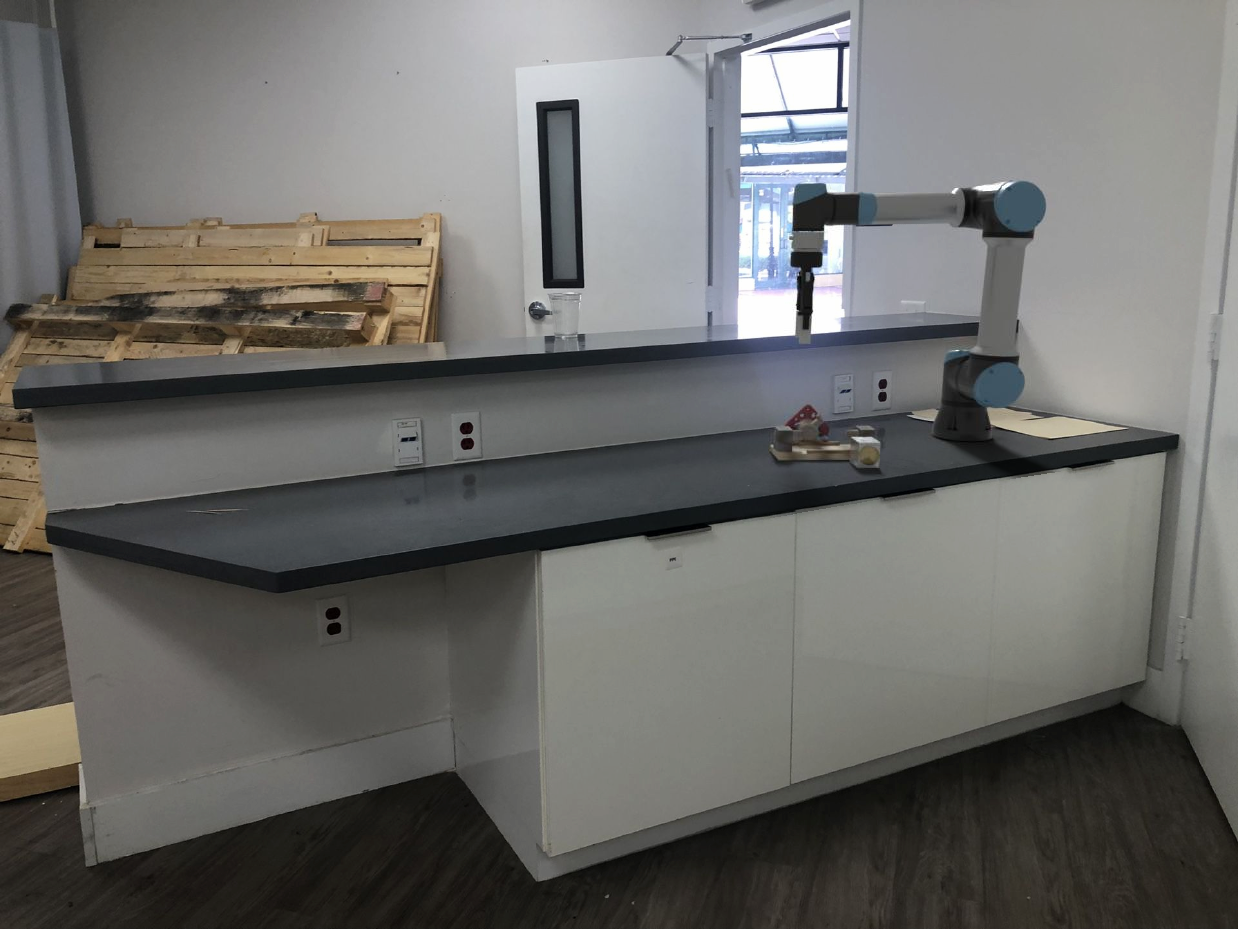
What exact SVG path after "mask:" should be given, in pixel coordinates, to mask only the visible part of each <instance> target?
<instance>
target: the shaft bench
mask: <svg viewBox="0 0 1238 929" xmlns="http://www.w3.org/2000/svg"><path fill="white" fill-rule="evenodd" d="M844 436H845V437H844V438H845V440H846V441H847V440H848V441H851V437H873V438H874V439H876V429H875V428H873V427H872V426H870V425H854V429H845V433H844ZM802 439H803V431H802V430H792V429H791V428H790V427H789V426H785V425H782V426H781V425H779V426H778V425H774V426H773V443H772V444H770V446H769V452H770V453H771V454H772V455H773V456H774V457H775V458H776V459H777V460H778V461H823V460H824V461H833V460H834V461H835V460H836V461H837V460H838V461H841V460H842V461H845V460H847V461H848V460H849V461H850V444H851V443H849V444H841V442H840V441H828V442H798V443H797V445H793V440H802Z"/></svg>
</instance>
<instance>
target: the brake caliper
mask: <svg viewBox="0 0 1238 929" xmlns="http://www.w3.org/2000/svg"><path fill="white" fill-rule="evenodd" d="M801 415H803V416H801ZM812 415H814V416H812ZM821 415H822V414H821V412H819V413H818V411H817V410H816V409H815V408H814V407H813V406H812V405H811V404H809V403H808V404H805V405H804V406H802V407H801V409H800V410H799V411H798V412H797V413H796V414H794V415H793V416H792V417H791V418H790V419H789V420H787V422H786V423H785V424H784V426H789V427H790V428H791V429H792V430H802V431H803V439H802V440H793V445H797V443H798V442H830V441H829V440H830V439H829V434H830V426H829V424H828V423H827V421H826V420H825V419H824V418H823V416H821ZM800 422H801V423H800ZM797 425H798V426H797Z"/></svg>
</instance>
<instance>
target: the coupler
mask: <svg viewBox="0 0 1238 929" xmlns="http://www.w3.org/2000/svg"><path fill="white" fill-rule="evenodd" d="M849 444H850V460H849V463H850V464H852V465H853V466H854V467H856V468H857V469H875V468H876V469H879V467H880V458H881V457H880V456H881V445H882V444H881V442H880V440H878V439H876V438H875V439H874V438H873V437H851V440H850V443H849Z"/></svg>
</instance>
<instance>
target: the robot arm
mask: <svg viewBox="0 0 1238 929" xmlns="http://www.w3.org/2000/svg"><path fill="white" fill-rule="evenodd" d="M793 191H794V192H793V197H792V198H793V199H792V228H791V235H789V236H788V240H789V241H791V247H790V248H791V249H792V250H793V251H791V253H790V259H789V261H790V263H789V265H790V267H791V268H797V269H798V268H800V269H798V272H797V273H798V274H797V275H796V290H797V292H796V293H797V294H796V303H795V306H796V307H795V308H796V313H795V329H794V330H795V332H794V333H795V334H794V337H795V338H798V344H801V345H802V344H803V345H807V344H808V345H809V344H810V345H811V338H812V318H813V313H814V308H813V307H814V304H813V303H814V289H815V288H814V287H815V286H814V285H815V278H816V277H815V273H814V272H813V271H812V269H818V268H819V269H820V268H822V267H823V263H824V262H823V260H824V258H823V257H824V254H823V252H822V250H823V249H824V248H825V247H824V244H825V226H827V227H829V226H830V227H831V226H832V227H833V226H867V225H868V226H869V225H872V226H873V225H874V226H875V225H923V224H924V225H932V224H933V225H934V224H935V225H940V224H949V225H950V226H951V228H963V229H964V228H966V229H973V230H981V231H982V233H981V234H982V235H981V239H982V241H983V242H984V243H985V244H986V246H987V248H986V257H985V258H986V259H985V268H984V275H983V287H982V293H981V294H982V296H981V303H980V304H981V306H980V312H979V314H980V315H979V324H978V331H977V332H978V333H977V342H976V345H975V346H974V347H972V348H971V349H956V350H955V349H954V350H953V349H952V350H948V351H947V352H945V356H944V361H943V373H942V374H943V375H942V383H941V384H942V385H941V386H942V387H941V397H940V398H941V399H940V407H939V409H938V411H937V413H936V417H935V418H934V421H933V423H932V426H931V435H932V436H934V437H935V438H936V437H937V438H940V439H944V440H948V441H949V440H950V441H957V442H982V441H983V442H984V441H988V440H991V439H992V435H993V428H992V425H991V419H990V416H989V412H988V408H992V409H1004V408H1006V407H1009V406H1011V405H1012V404H1013V403H1015V402H1016V401H1017V400H1019V398H1020V397H1021V395H1022V393H1023V391H1024V388H1025V384H1026V378H1025V375H1024V373H1023V371H1022V369H1021V368H1020V367H1019V363H1020V355H1021V354H1020V352H1019V351H1018V349H1016V348H1015V340H1016V332H1017V323H1018V315H1019V307H1020V298H1021V289H1022V281H1023V280H1022V279H1023V273H1024V263H1025V256H1026V248H1027V246H1028V245H1029V244H1030V243H1031V242H1033V241H1034V236H1035V229H1036V227H1037V226H1038V225H1039V224H1040V223H1042V222H1043V219H1044V217H1045V216H1046V215H1045V214H1046V211H1047V200H1046V198H1045V195H1044V193H1043V191H1042V190H1041V189H1040V188H1039V187H1038V185H1036V184H1035V183H1033V182H1030V181H1027V180H1019V179H1015V180H1008V181H1007V180H1005V181H1000V182H991V183H990V182H989V183H987V184H980V185H977V186H971V187H956V188H954V189H953V190H952V191H951V192H950V191H947V192H943V191H942V192H893V193H891V192H889V193H886V192H885V193H884V192H883V193H882V192H881V193H880V192H879V193H873V192H868V191H867V192H866V191H839V192H838V191H837V192H836V191H834V192H833V191H828V189H827V184H826V183H825V182H800V183H797V184H796V185H795V186H794V190H793Z"/></svg>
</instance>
